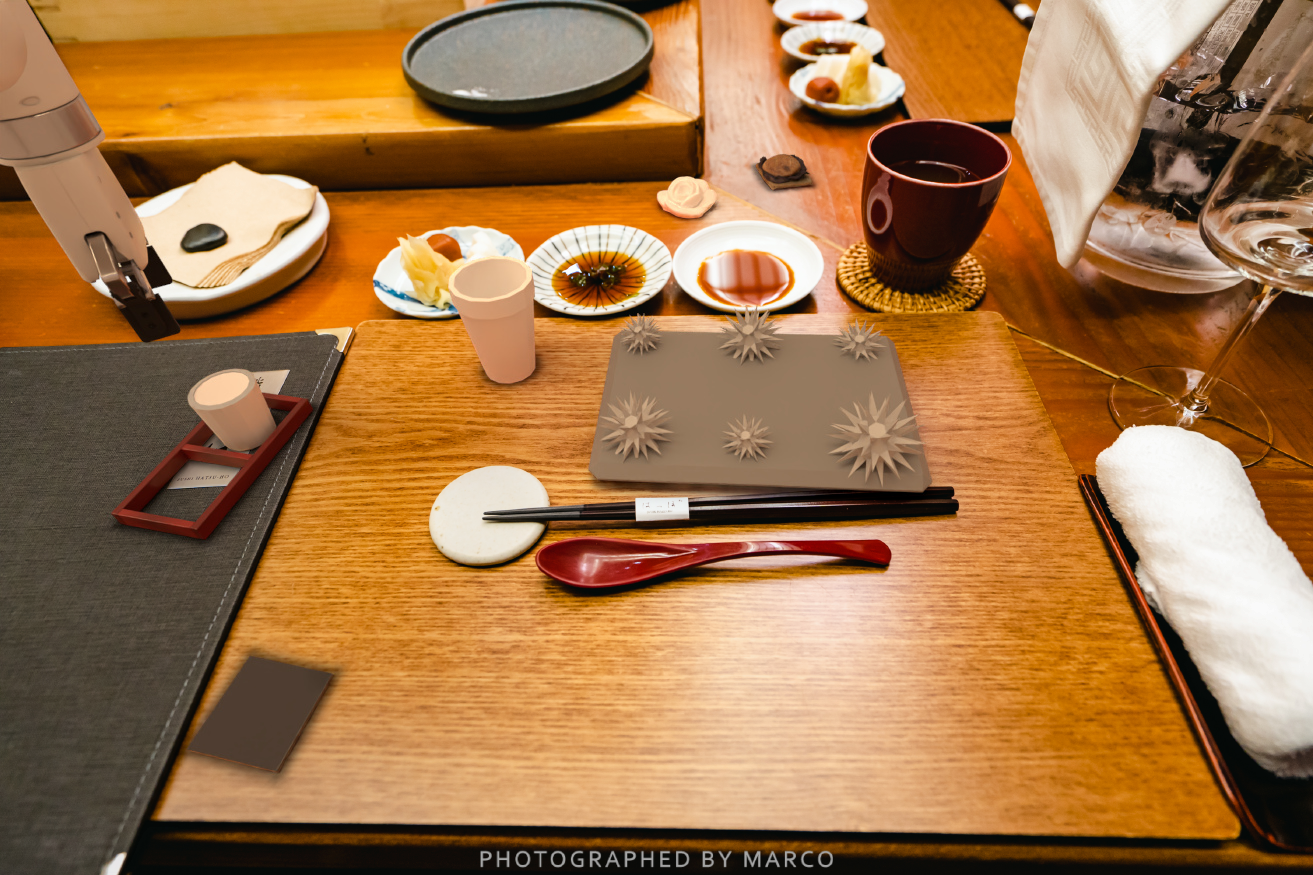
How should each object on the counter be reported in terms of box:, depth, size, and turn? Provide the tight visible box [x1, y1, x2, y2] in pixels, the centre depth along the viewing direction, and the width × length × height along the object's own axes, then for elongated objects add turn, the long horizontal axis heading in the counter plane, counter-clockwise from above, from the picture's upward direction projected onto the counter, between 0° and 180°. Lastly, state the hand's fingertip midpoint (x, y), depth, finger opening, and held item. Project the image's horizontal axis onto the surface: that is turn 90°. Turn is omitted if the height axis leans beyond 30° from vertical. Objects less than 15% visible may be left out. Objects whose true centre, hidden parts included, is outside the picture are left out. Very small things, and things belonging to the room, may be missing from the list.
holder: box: [110, 391, 314, 540], centre depth 75 cm, size 10×19×2 cm, turn 168°
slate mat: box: [186, 655, 335, 774], centre depth 55 cm, size 8×8×1 cm
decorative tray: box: [587, 305, 933, 493], centre depth 75 cm, size 35×26×10 cm
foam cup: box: [447, 255, 536, 384], centre depth 81 cm, size 10×9×13 cm
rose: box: [656, 176, 718, 219], centre depth 113 cm, size 10×4×10 cm
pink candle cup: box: [186, 367, 277, 452], centre depth 76 cm, size 7×7×7 cm
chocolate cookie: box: [755, 153, 813, 190], centre depth 120 cm, size 11×8×4 cm
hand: (159, 310), depth 65 cm, fingers open, 9 cm apart
